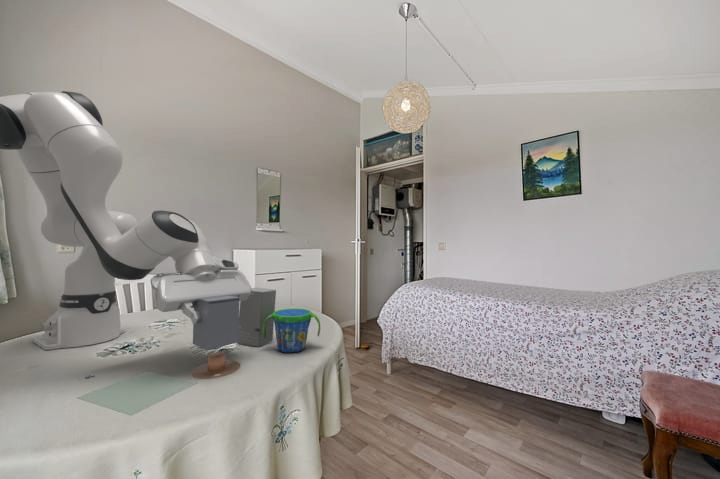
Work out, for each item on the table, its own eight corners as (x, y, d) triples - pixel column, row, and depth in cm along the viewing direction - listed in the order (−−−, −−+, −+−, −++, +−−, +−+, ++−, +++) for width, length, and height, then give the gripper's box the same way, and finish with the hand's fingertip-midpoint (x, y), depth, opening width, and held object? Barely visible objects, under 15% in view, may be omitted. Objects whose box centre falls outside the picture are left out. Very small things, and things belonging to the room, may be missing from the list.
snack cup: (322, 342, 85) (322, 308, 85) (317, 355, 74) (318, 316, 74) (268, 342, 84) (269, 308, 85) (257, 356, 74) (258, 316, 74)
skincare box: (236, 344, 83) (237, 289, 83) (254, 337, 90) (254, 286, 90) (259, 348, 80) (260, 291, 80) (275, 340, 86) (276, 287, 87)
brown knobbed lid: (179, 377, 61) (179, 359, 61) (217, 360, 70) (218, 345, 70) (214, 386, 57) (215, 366, 58) (250, 367, 67) (250, 350, 67)
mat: (76, 402, 51) (76, 397, 51) (146, 374, 62) (147, 371, 62) (131, 420, 46) (131, 415, 46) (197, 386, 57) (197, 382, 57)
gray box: (192, 343, 63) (194, 298, 63) (223, 336, 68) (224, 294, 69) (207, 350, 59) (208, 301, 59) (238, 342, 64) (239, 297, 65)
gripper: (152, 264, 60) (168, 318, 54) (242, 262, 77) (263, 303, 70) (144, 284, 63) (159, 337, 57) (233, 277, 79) (252, 318, 73)
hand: (217, 318), depth 64 cm, fingers closed on gray box, 7 cm apart
